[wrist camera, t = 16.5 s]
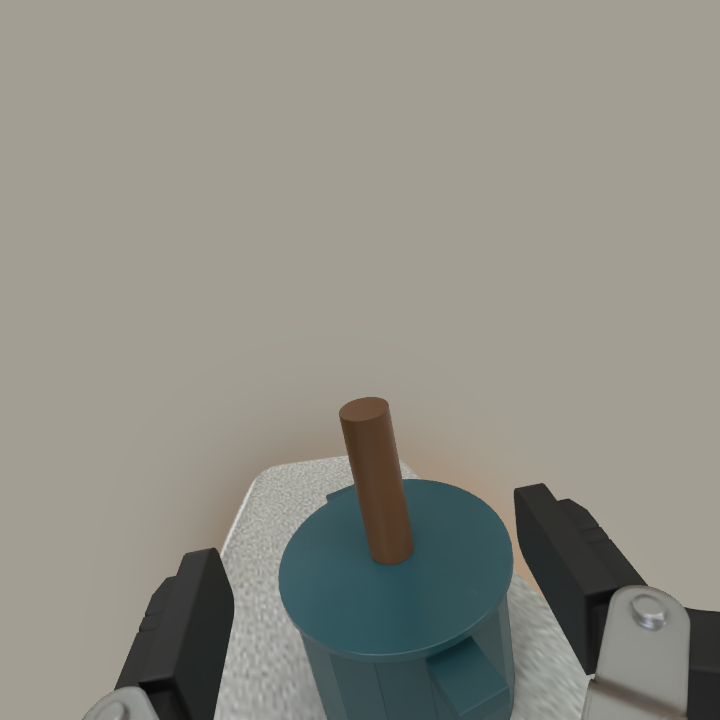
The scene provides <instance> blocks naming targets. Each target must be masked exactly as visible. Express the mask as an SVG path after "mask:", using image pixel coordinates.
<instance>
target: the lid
mask: <svg viewBox="0 0 720 720" xmlns="http://www.w3.org/2000/svg"><path fill="white" fill-rule="evenodd" d="M339 417H340V421H341V426H342V430H343V434H344V439H345V443H346V448H347V452H348V457H349V461H350V466H351V470H352V475H353V479H354V484H355V488H356V489H355V490H352V491H350V492H347V493H345V494H343V495H341V496H339V497H337V498H335V499H333V500H332V501H330V502H328V503H327V504H325V505H324V506H322V507H321V508H319V509H318V510H317V511H316V512H314V513H313V514H312V515H311V516H309V517H308V518H307V519H306V520H305V521H304V522H303V523H302V524H301V526H300V527H299V528H298V529H297V531H296V532H295V533H294V535H293V536H292V538H291V539H290V541H289V543H288V544H287V547H286V549H285V551H284V553H283V556H282V560H281V563H280V568H279V576H278V577H279V590H280V595H281V599H282V602H283V605H284V608H285V610H286V612H287V615H288V617H289V618H290V620H291V621H292V623H293V624H294V626H295V627H296V628H297V629H298V630H299V631H300V632H301V633H302V634H303V635H304V636H305V637H306V638H307V639H308V640H310V641H311V642H313V643H314V644H315V645H317V646H318V647H320V648H322V649H324V650H326V651H328V652H330V653H332V654H335V655H338V656H341V657H344V658H347V659H351V660H356V661H362V662H372V663H394V662H404V661H410V660H415V659H420V658H424V657H427V656H430V655H433V654H436V653H439V652H441V651H443V650H446V649H448V648H450V647H452V646H454V645H456V644H458V643H459V642H461V641H463V640H464V639H466V638H467V637H469V636H471V635H472V634H473V633H474V632H476V631H477V630H478V629H479V628H480V627H482V626H483V625H484V624H485V623H486V622H487V621H488V620H489V618H490V617H491V616H492V615H493V614H494V613H495V612H496V610H497V609H498V607H499V605H500V604H501V602H502V601H503V599H504V597H505V595H506V593H507V590H508V588H509V586H510V582H511V578H512V574H513V552H512V544H511V540H510V537H509V534H508V531H507V529H506V527H505V525H504V523H503V522H502V520H501V519H500V518H499V516H498V515H497V514H496V512H494V510H493V509H492V508H491V507H490V506H489V505H487V504H486V503H485V502H484V501H482V500H481V499H480V498H478V497H476V496H475V495H473V494H471V493H470V492H467V491H465V490H463V489H461V488H458V487H455V486H452V485H449V484H445V483H441V482H436V481H429V480H418V479H402V476H401V470H400V465H399V459H398V454H397V449H396V443H395V437H394V433H393V427H392V421H391V415H390V410H389V405H388V403H387V401H386V400H384V399H381V398H377V397H366V398H361V399H357V400H354V401H351V402H349V403H347V404H346V405H345V406H343V407H342V408H341V409H340V411H339Z"/></svg>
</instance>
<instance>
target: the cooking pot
mask: <svg viewBox="0 0 720 720" xmlns="http://www.w3.org/2000/svg"><path fill="white" fill-rule="evenodd" d="M355 489H356V488H355V484H353V485H351V486H348V487H346V488H343V489H341V490H338V491H336V492H333V493H331V494H329V495H326V498H327V502H330V501H332V500H333V499H335V498H337V497H339V496H341V495H343V494H345V493H347V492H350V491H352V490H355ZM300 634H301V637H302V640H303V643H304V647H305V650H306V653H307V656H308V660H309V663H310V666H311V669H312V672H313V676H314V679H315V682H316V685H317V689H318V692H319V695H320V698H321V701H322V704H323V707H324V710H325V713H326V716H327V719H328V720H509V719H510V716H511V712H512V707H513V702H514V683H515V672H514V662H513V652H512V643H511V633H510V623H509V614H508V604H507V594H506V595H505V597H504V599H503V601H502V602H501V604H500V605H499V607H498V609H497V610H496V612H495V613H494V614H493V615H492V616H491V617H490V618H489V620H488V621H487V622H486V623H485V624H484V625H483V626H482V627H480V628H479V629H478V630H477V631H476V632H474V633H473V634H472V635H471V636H469V637H467V638H466V639H464V640H463V641H461V642H459V643H458V644H456V645H454V646H452V647H450V648H448V649H446V650H443V651H441V652H439V653H436V654H433V655H430V656H427V657H424V658H420V659H415V660H410V661H404V662H394V663H372V662H362V661H356V660H351V659H347V658H344V657H341V656H338V655H335V654H332V653H330V652H328V651H326V650H324V649H322V648H320V647H318V646H317V645H315V644H314V643H313V642H311V641H310V640H308V639H307V638H306V637H305V636H304V635H303V634H302V633H301V632H300Z"/></svg>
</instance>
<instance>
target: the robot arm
mask: <svg viewBox="0 0 720 720" xmlns="http://www.w3.org/2000/svg"><path fill="white" fill-rule="evenodd" d="M514 503H515V515H516V525H517V526H516V527H517V536H518V542H519V546H520V549H521V552H522V555H523V557H524V559H525V561H526V563H527V565H528V567H529V569H530V570H531V572H532V574H533V576H534V578H535V580H536V582H537V584H538V585H539V587H540V589H541V591H542V593H543V595H544V597H545V599H546V600H547V602H548V604H549V606H550V608H551V610H552V612H553V613H554V615H555V617H556V619H557V621H558V623H559V625H560V627H561V628H562V630H563V632H564V634H565V636H566V638H567V640H568V641H569V643H570V645H571V647H572V649H573V651H574V653H575V655H576V656H577V658H578V660H579V662H580V664H581V666H582V668H583V669H584V671H585V673H586V675H590V674H595V673H596V674H595V678H594V680H593V679H591V680H590V682H589V685H588V688H587V693H586V697H585V702H584V707H583V712H582V716H581V720H720V612H716V611H704V610H695V609H690V608H686V607H683V606H682V605H681V604H680V603H679V602H678V601H677V600H676V599H675V598H673V597H672V596H671V595H669V594H667V593H666V592H664V591H661V590H659V589H656V588H653V587H649V586H648V585H647V584H646V583H645V581H644V580H643V579H642V578H641V576H640V575H639V574H638V573H637V571H636V570H635V569H634V568H633V566H632V565H631V564H630V563H629V561H627V559H626V558H625V556H624V555H623V554H622V553H621V552H620V550H619V549H618V548H617V547H616V545H615V544H614V543H613V542H612V540H611V539H609V538H608V536H607V534H606V533H605V532H604V530H603V529H602V528H601V527H599V524H598V523H597V522H596V520H595V519H594V518H593V517H592V516H591V514H590V513H589V512H588V510H587V509H585V508H583V507H582V506H580V505H579V504H577V503H575V502H574V501H572V500H570V499H564V500H560V501H557V500H556V499H555V498H554V496H553V495H552V493H551V492H550V491H549V489H548V488H547V487H546V485H545V484H543V483H540V484H536V485H530V486H525V487H521V488H515V490H514ZM233 618H234V597H233V592H232V589H231V586H230V583H229V581H228V578H227V575H226V572H225V569H224V567H223V564H222V561H221V558H220V555H219V553H218V551H217V550H216V548H210V549H205V550H200V551H195V552H190V553H186V554H185V555H184V557H183V559H182V562H181V564H180V567H179V570H178V573H177V575H176V576H174V577H169V578H166V579H165V581H164V582H163V583H162V584H161V585H160V587H159V588H158V589H157V590H156V592H155V593H154V594H153V595H152V597H151V600H150V602H149V605H148V607H147V610H146V612H145V617H144V618H143V620H142V622H141V625H140V627H139V633H137V635H136V637H135V639H134V642H133V645H132V647H131V649H130V652H129V654H128V657H127V659H126V662H125V664H124V667H123V669H122V672H121V674H120V676H119V679H118V682H117V684H116V686H115V689H114V691H113V692H111V693H109V694H108V695H106V696H104V697H103V698H102V699H100V700H99V701H98V702H97V703H96V704H95V705H94V706H93V707H92V708H91V709H90V710H89V711H88V712H87V714H86V715H85V716H84V718H83V719H82V720H213V719H214V714H215V709H216V704H217V698H218V693H219V688H220V683H221V678H222V673H223V668H224V663H225V658H226V653H227V648H228V643H229V638H230V633H231V628H232V623H233Z"/></svg>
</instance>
